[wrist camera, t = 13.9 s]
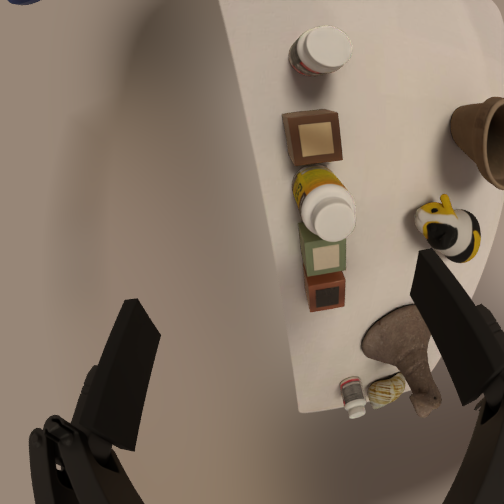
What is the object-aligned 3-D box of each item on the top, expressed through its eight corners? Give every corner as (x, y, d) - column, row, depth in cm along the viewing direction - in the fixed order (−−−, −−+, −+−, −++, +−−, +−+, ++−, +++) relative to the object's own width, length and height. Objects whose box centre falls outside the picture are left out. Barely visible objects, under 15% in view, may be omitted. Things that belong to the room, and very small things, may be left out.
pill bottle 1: (287, 74, 25) (300, 68, 18) (288, 37, 22) (301, 18, 15) (329, 78, 25) (356, 75, 18) (330, 42, 22) (356, 27, 15)
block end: (302, 263, 38) (308, 287, 34) (336, 257, 38) (345, 280, 34) (305, 289, 41) (310, 313, 37) (336, 283, 41) (344, 307, 36)
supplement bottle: (287, 167, 31) (301, 199, 22) (332, 159, 30) (363, 190, 22) (294, 208, 34) (308, 254, 25) (336, 201, 33) (364, 244, 25)
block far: (297, 222, 35) (304, 243, 31) (335, 217, 34) (346, 236, 30) (301, 254, 38) (307, 277, 33) (336, 248, 37) (346, 271, 33)
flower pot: (422, 133, 27) (471, 154, 19) (454, 72, 22) (505, 79, 13) (466, 178, 30) (509, 207, 22) (494, 123, 24) (539, 142, 16)
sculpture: (382, 300, 43) (424, 398, 26) (446, 301, 44) (489, 378, 27) (349, 357, 52) (369, 441, 35) (409, 353, 53) (435, 424, 36)
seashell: (412, 372, 57) (408, 408, 52) (384, 376, 65) (380, 409, 60) (393, 369, 54) (389, 408, 49) (363, 372, 62) (359, 408, 57)
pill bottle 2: (335, 383, 58) (342, 418, 50) (353, 373, 56) (361, 409, 48) (346, 388, 60) (353, 420, 52) (364, 379, 58) (372, 412, 50)
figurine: (419, 176, 31) (452, 200, 24) (474, 213, 33) (502, 238, 26) (393, 226, 35) (418, 258, 28) (450, 253, 37) (474, 282, 31)
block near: (281, 113, 27) (287, 117, 23) (325, 109, 27) (338, 112, 22) (288, 155, 30) (295, 166, 26) (330, 149, 29) (343, 160, 25)
